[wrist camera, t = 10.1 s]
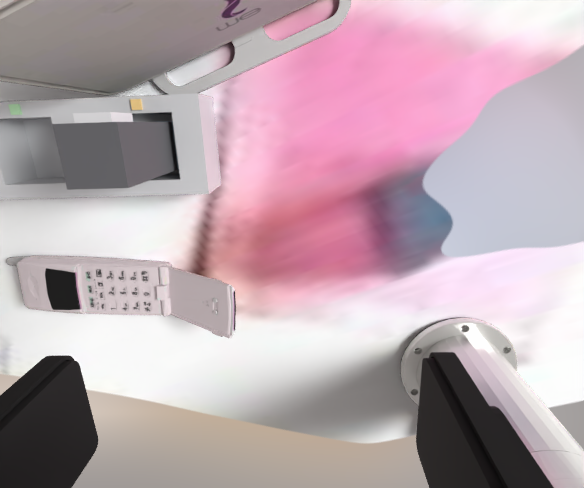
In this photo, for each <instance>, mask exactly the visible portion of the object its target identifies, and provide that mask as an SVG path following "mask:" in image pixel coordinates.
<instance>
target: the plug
mask: <svg viewBox="0 0 584 488" xmlns="http://www.w3.org/2000/svg"><path fill="white" fill-rule="evenodd" d="M73 117H74V121H75V123H66V124H52V125H53V130H54V134H55V139H56V143H57V147H58V152H59V156H60V160H61V165H62V169H63V174H64V178H65V182H66V187H67V190H73V189H113V188H130V187H133V186H135V185H138V184H141V183H143V182H146V181H149V180H151V179H154V178H157V177H159V176H162V175H165V174H167V173H170V172H173V171H175V170H179V165H178V157H177V150H176V142H175V135H174V127H173V121H166V122H133V116H132V113H118V112H99V113H73Z"/></svg>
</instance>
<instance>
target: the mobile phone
mask: <svg viewBox="0 0 584 488" xmlns="http://www.w3.org/2000/svg"><path fill="white" fill-rule="evenodd" d="M7 264H8V265H14V266H17V269H18V274H19V279H20V284H21V290H22V295H23V300H24V305H25V306H26V307H27V308H29V309H36V310H44V311H54V312H65V313H79V314H85V313H90V314H123V315H163V316H168V315H170V314H171V315H173V316H175V317H178V318H180V319H183V320H185V321H188V322H190V323H192V324H195V325H197V326H200V327H202V328H204V329H207V330H209V331H211V332H212V333H213V334H215V335H218V336H221V337H223V336H225V337H227V338H231V337H232V336H233V334H234V333H235V312H236V304H235V289H234V288H233V287H232V286H231V285H229V284H226V283H223V282H222V281H221V280H217V279H214V278H208V277H205V276H201V275H198V274H194V273H190V272H187V271H183V270H179V269H176V268H172V264H171V263H169V262H161V261H147V260H133V259H118V258H97V257H74V256H29V257H10V258H8V259H7Z"/></svg>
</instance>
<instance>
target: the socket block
mask: <svg viewBox="0 0 584 488" xmlns="http://www.w3.org/2000/svg"><path fill="white" fill-rule="evenodd" d="M99 112H118V113H132V116H133V122H166V121H173V127H174V135H175V142H176V150H177V157H178V165H179V170H175V171H173V172H170V173H167V174H165V175H162V176H159V177H157V178H154V179H151V180H149V181H146V182H143V183H141V184H138V185H135V186H133V187H130V188H113V189H73V190H67V187H66V182H65V178H64V174H63V169H62V165H61V160H60V156H59V152H58V147H57V143H56V139H55V134H54V130H53V125H52V124H66V123H75V121H74V117H73V113H99ZM220 185H221V175H220V165H219V154H218V144H217V134H216V124H215V113H214V103H213V97H209V96H206V95H202V94H198V93H195V94H170V95H146V96H122V97H98V98H73V99H49V100H25V101H1V102H0V200H20V199H54V198H87V197H121V196H154V195H188V194H209V193H211V192H212V191H213V190H215V189H216V188H217V187H219V186H220Z"/></svg>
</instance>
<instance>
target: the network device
mask: <svg viewBox="0 0 584 488" xmlns="http://www.w3.org/2000/svg"><path fill="white" fill-rule="evenodd" d="M315 1H317V0H0V81H3V82H11V83H18V84H25V85H33V86H40V87H48V88H55V89H62V90H70V91H77V92H85V93H92V94H99V95H113V94H118V93H121V92H124V91H127V90H129V89H131V88H133V87H136V86H138V85H140V84H142V83H144V82H146V81H148V80H150V79H152V80H153V81H154V83H155V84H156V85H157V86H158V87H159V88H160V89H161V90H163V91H164V92H165V93H167V94H195V93H200V92H203V91H205V90H207V89H209V88H211V87H213V86H216V85H218V84H220V83H222V82H224V81H227V80H229V79H231V78H233V77H235V76H238V75H240V74H242V73H244V72H246V71H248V70H251V69H253V68H255V67H257V66H259V65H262V64H264V63H266V62H268V61H270V60H273V59H275V58H277V57H279V56H281V55H284V54H286V53H288V52H290V51H292V50H294V49H297V48H299V47H301V46H303V45H305V44H308V43H310V42H312V41H314V40H316V39H319V38H321V37H323V36H325V35H327V34H329V33H331V32H333V31H334V30H336V29H337V28H338V27H339V26H340V25H341V24H342V22H343V21H344V19H345V18H346V16H347V13H348V11H349V8H350V5H351V0H339V8H338V10H337V12H336V13H335V15H334V16H332V17H331V18H329V19H327V20H325V21H322V22H320V23H318V24H316V25H314V26H312V27H309V28H307V29H305V30H303V31H301V32H299V33H296V34H294V35H292V36H290V37H288V38H286V39H284V40H281V41H276V40H273V39H271V38H269V37H268V36H267V34H266V33H265V30H264V28H263V26H264V25H266V24H269V23H271V22H273V21H275V20H277V19H279V18H281V17H283V16H285V15H288V14H290V13H292V12H294V11H296V10H298V9H300V8H302V7H304V6H307V5H309V4H311V3H313V2H315ZM231 41H232V43H233V45H234V48H235V56H234V59H233V61H232V62H231V63H230V64H229V65H227V66H225V67H223V68H221V69H219V70H217V71H215V72H212V73H210V74H208V75H206V76H204V77H202V78H199V79H197V80H195V81H193V82H191V83H189V84H186V85H184V86H175V85H174V84H172V83H171V81H170V80H169V78H168V76H167V74H166V72H167V71H169V70H171V69H174V68H176V67H178V66H180V65H182V64H184V63H186V62H188V61H190V60H193V59H195V58H197V57H199V56H201V55H203V54H205V53H207V52H209V51H212V50H214V49H216V48H218V47H220V46H222V45H224V44H226V43H228V42H231Z"/></svg>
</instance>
